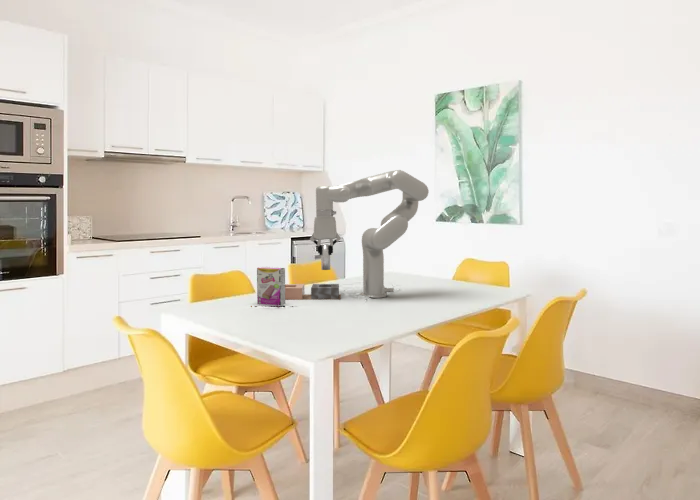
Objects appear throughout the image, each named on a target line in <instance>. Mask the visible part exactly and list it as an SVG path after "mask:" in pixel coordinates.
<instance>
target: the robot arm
mask: <svg viewBox="0 0 700 500" xmlns="http://www.w3.org/2000/svg"><path fill="white" fill-rule="evenodd" d="M392 190H399V191H401V193H402V198H401V199H402V200H401V203H400V204H399V205H398V206H397V207H396V208H394V209H393V210H392V211H391V212H389V213H388V214H387V215H385V216H384V217H382V219H381V222H380V226H379V227H378V228H376V227H370V228H367V229H366V230H365V231H364V232H363V233H362V234H361V235H362V236H361V247H362V257H363V258H362V274H363V275H362V280H363V282H362V286H363V287H362V288H363V290H362V292H360V293H359V295H360V296H364V297H369V299H381V298H386V297H387V296H388V293H394V291H395V289H394V288H393V287H385V282H384V279H385V271H384V269H385V267H384V266H385V265H384V264H385V259H384V256H385V255H384V250H386V249H387V248H388V247H390V246H391V245H393V244H394V243H395V242H396V241H397V240H399V238H401V237H403V235H405V233H406V232H407V230H408V227H409V221H410V220H412V219H413V218H414V217H415V215H416V214H417V212H418V209H419V202H421V201H422V202H423V201H424V200H426V199H427V198H428V196H429V187H428V186H427V184H426V183H425V182H423V181H421V180H420V179H418V178H416V177H414V176H413V175H411V174H409V173H408V172H406V171H404V170H401V169H396V170H390V171H386V172H383V173H378V174H374V175H371V176H366V177H363V178H360V179H358V180H355V181H354V180H353V181H350V182H347V183H346V182H345V183H344V184H340V185H335V186H330V185H329V186H327V185H322V186H317V187H316V188H315V206H316V207H315V209H316V211H315V212H316V214H315V217H314V221H313V222H314V223H313V233H312V234H311V236H310V238H309V240H310V241H311V242H313V243H314V244H315V245H316V246H317V252H318V253H317V254H319V256H321V245H322V244H321V242H322V240H329V245H330V256H332V254H333V253H334V245H336V243H338V242H339V241H340V240H341V239H342V238H341V237H340V235H339V233H338V232H337V222H336V217H335V216H334V215H337V210H336V211H335V210H334V203H346V202H348V201H349V200H351V199H355V198H356V199H357V198H361V197H363V198H364V197H369V196H370V197H371V196H375V195H378V194H382V193H385V192H389V191H392Z"/></svg>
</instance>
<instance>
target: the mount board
mask: <svg viewBox="0 0 700 500" xmlns="http://www.w3.org/2000/svg"><path fill="white" fill-rule="evenodd" d="M341 299H342V294H341V293H340V284H339V283H313V284H312V285H311V287H310V294H309V293H308V294H305V295H304V297H303V299H285V301H289V300H290V301H295V300H296V301H298V300H299V301H303V300H305V301H307V300H308V301H314V300H315V301H316V300H317V301H318V300H320V301H321V300H322V301H323V300H324V301H325V300H327V301H328V300H330V301H332V300H336V301H338V300H339V301H340V300H341Z"/></svg>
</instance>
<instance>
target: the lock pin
mask: <svg viewBox="0 0 700 500" xmlns="http://www.w3.org/2000/svg"><path fill="white" fill-rule="evenodd" d="M320 259H321V260H320V262H321V263H320V265H321V271H329V270H331V255H330V244H321V255H320Z"/></svg>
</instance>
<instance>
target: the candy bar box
mask: <svg viewBox="0 0 700 500" xmlns="http://www.w3.org/2000/svg"><path fill="white" fill-rule="evenodd" d="M256 281H257V282H256V287H257V288H256V289H257V290H256V291H257V292H256V293H257V305H266V306H267V307H269V308H282V307H283V308H284V305H285V304H286V300H285V284H286V267H278V266H277V267H273V266H259V267H257V268H256Z"/></svg>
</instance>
